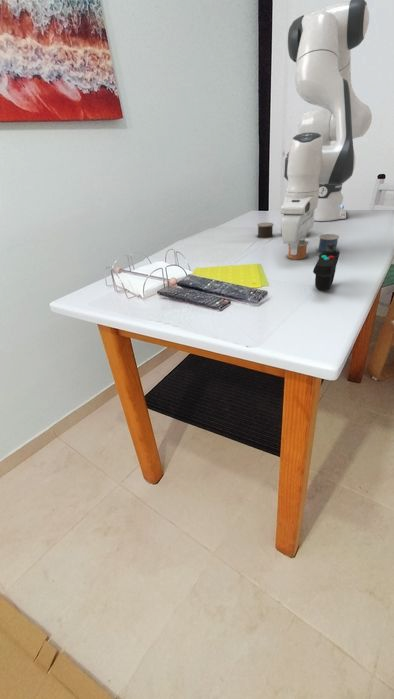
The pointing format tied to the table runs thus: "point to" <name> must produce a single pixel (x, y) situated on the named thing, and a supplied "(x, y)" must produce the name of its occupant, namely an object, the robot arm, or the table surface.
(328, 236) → the pod top
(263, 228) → the base
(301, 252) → the cylinder
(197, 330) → the table surface
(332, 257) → the controller
